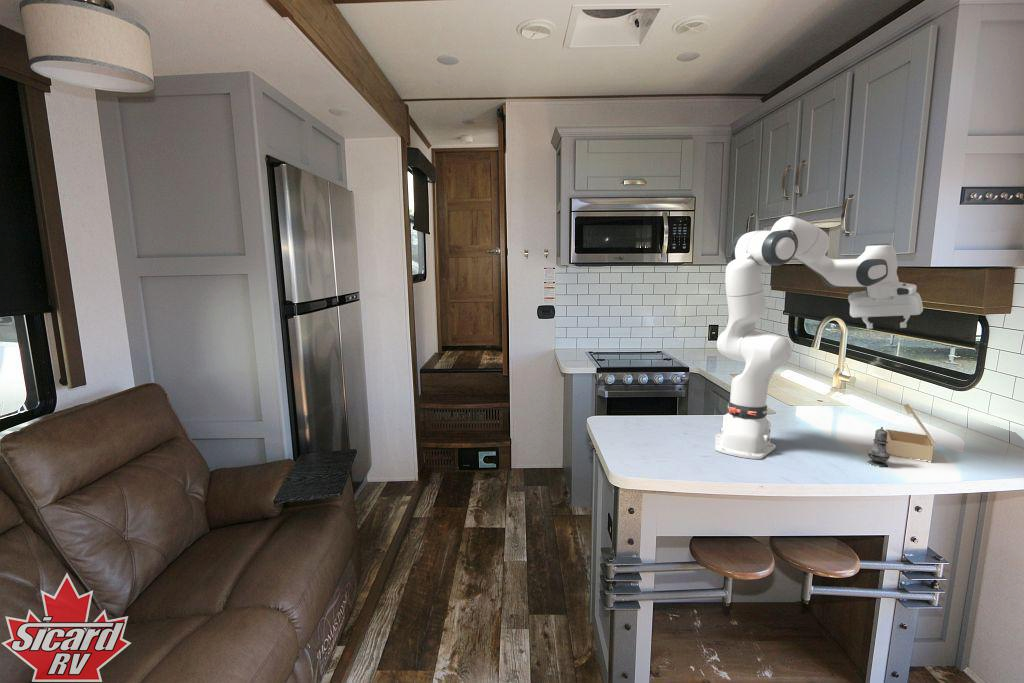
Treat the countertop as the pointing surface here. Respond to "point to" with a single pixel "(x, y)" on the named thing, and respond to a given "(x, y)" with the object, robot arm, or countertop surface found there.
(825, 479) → the countertop surface
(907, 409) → the lid
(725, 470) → the countertop surface
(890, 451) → the mailer box
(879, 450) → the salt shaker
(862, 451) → the countertop surface
